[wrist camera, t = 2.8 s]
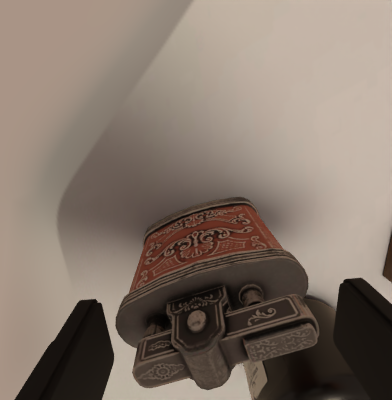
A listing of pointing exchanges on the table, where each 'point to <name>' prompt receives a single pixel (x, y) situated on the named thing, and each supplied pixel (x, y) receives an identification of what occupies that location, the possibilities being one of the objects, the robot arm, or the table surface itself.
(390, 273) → the tray
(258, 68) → the table surface
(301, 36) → the table surface
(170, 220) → the lighter
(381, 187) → the table surface
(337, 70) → the table surface
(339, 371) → the ink bottle
